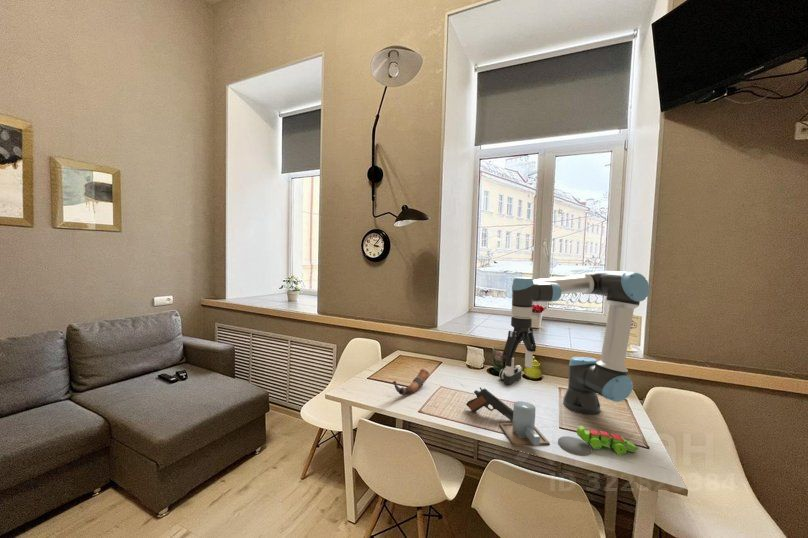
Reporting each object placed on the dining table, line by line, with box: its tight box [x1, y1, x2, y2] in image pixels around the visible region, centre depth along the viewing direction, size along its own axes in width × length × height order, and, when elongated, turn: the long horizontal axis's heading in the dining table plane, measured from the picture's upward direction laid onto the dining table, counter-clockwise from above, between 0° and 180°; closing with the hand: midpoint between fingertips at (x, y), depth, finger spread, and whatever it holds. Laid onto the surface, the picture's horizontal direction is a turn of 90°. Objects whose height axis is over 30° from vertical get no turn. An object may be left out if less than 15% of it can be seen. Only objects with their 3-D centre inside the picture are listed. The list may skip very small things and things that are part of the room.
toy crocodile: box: [576, 425, 639, 456], centre depth 117 cm, size 20×7×6 cm, turn 75°
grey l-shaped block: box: [512, 400, 541, 446], centre depth 121 cm, size 15×8×11 cm, turn 4°
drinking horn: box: [392, 368, 430, 396], centre depth 159 cm, size 5×29×10 cm, turn 144°
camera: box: [498, 364, 523, 386], centre depth 179 cm, size 16×9×10 cm, turn 134°
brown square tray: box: [498, 422, 550, 447], centre depth 124 cm, size 14×14×1 cm
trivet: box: [557, 435, 593, 456], centre depth 117 cm, size 11×11×1 cm
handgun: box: [465, 387, 513, 422], centre depth 138 cm, size 2×19×12 cm, turn 62°
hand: (519, 370), depth 124 cm, fingers open, 13 cm apart
